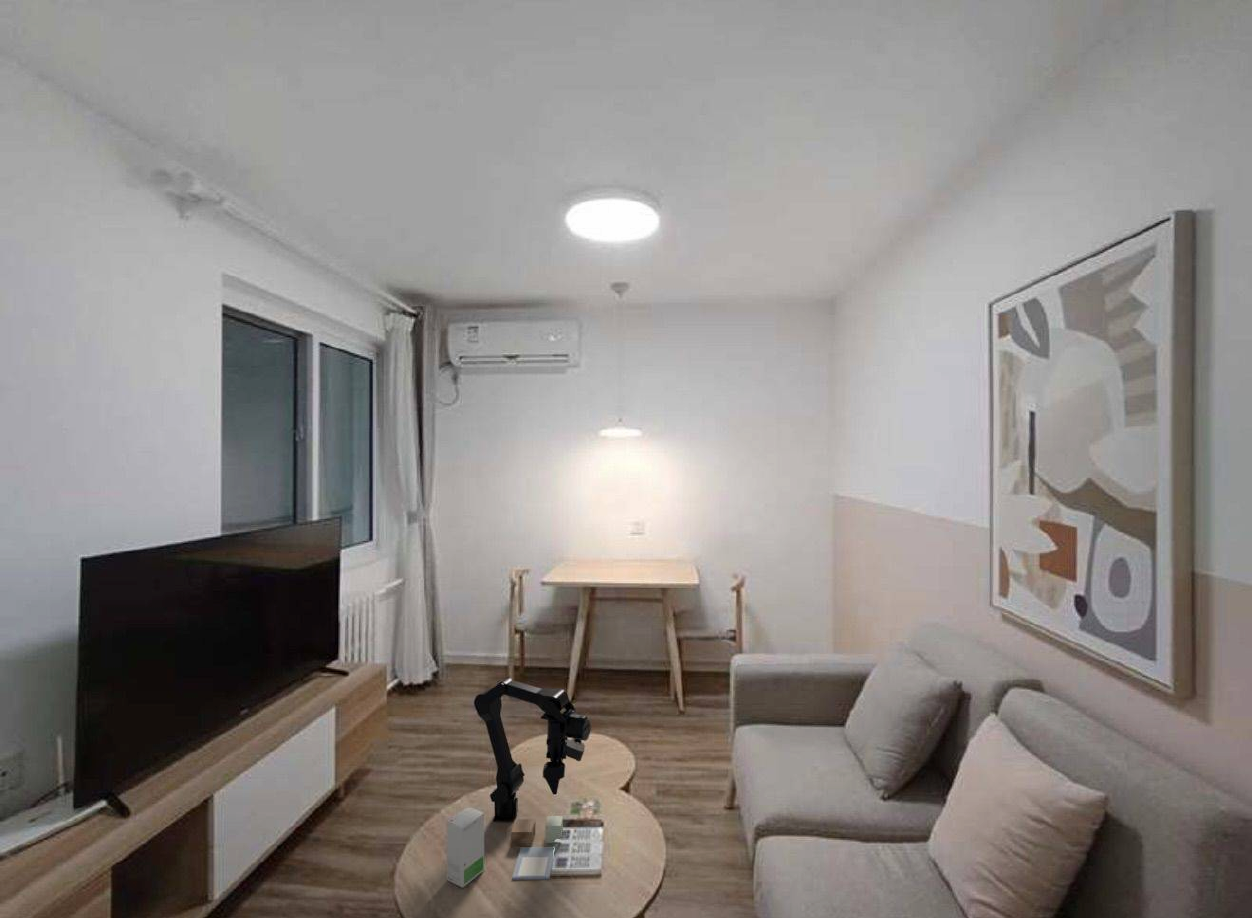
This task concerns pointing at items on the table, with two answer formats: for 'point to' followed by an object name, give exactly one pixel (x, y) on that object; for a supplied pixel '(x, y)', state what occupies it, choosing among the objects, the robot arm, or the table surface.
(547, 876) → the board
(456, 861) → the skincare box
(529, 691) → the robot arm
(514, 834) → the walnut block
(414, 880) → the table surface
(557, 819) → the sage block
